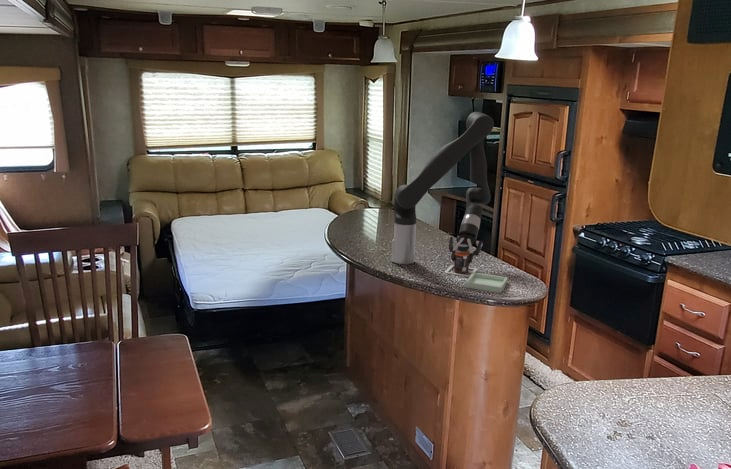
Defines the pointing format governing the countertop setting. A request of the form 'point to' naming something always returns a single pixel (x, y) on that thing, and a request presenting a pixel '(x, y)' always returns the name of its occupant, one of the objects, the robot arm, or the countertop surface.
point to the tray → (486, 282)
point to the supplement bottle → (461, 259)
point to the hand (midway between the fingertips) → (460, 261)
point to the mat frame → (459, 274)
